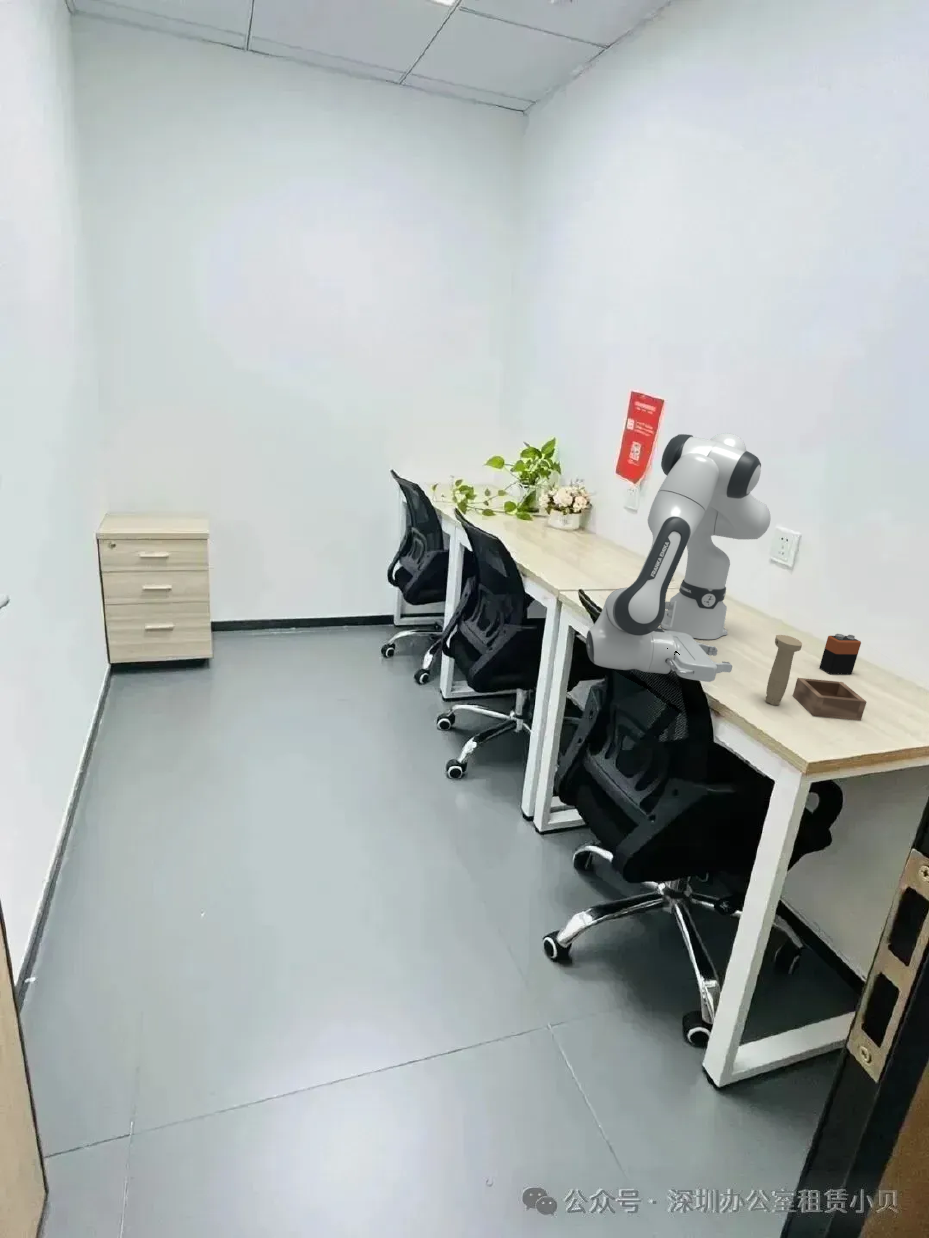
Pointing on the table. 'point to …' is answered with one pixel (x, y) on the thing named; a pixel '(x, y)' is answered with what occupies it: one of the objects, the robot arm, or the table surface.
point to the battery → (840, 654)
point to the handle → (781, 668)
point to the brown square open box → (829, 699)
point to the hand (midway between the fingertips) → (723, 659)
